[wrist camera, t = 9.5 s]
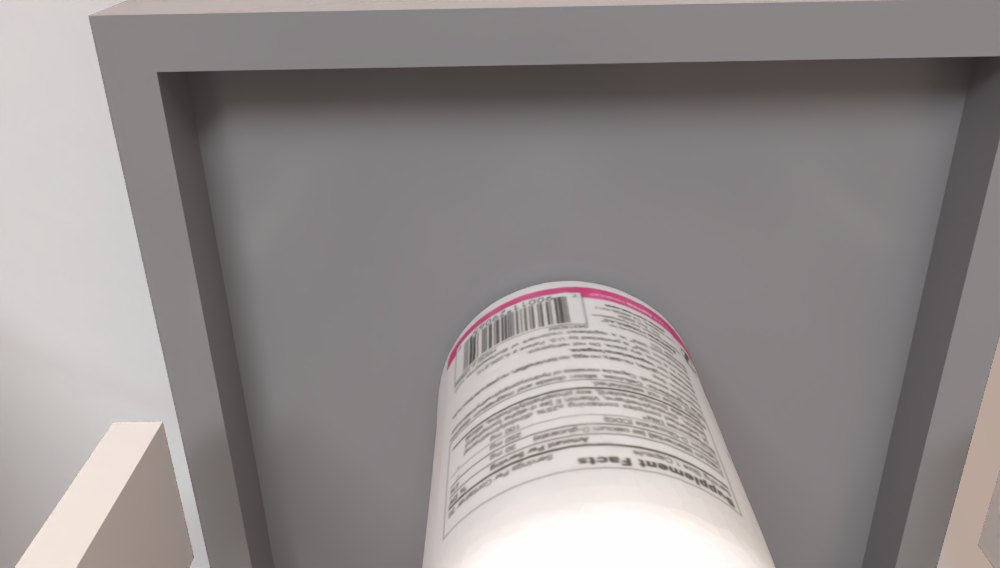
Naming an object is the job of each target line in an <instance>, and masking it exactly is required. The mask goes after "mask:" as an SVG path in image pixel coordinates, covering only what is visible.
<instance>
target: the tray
mask: <svg viewBox="0 0 1000 568" xmlns="http://www.w3.org/2000/svg"><path fill="white" fill-rule="evenodd" d="M89 20H90V25H91V29H92V34H93V38H94V43H95V47H96V52H97V56H98V61H99V65H100V70H101V74H102V79H103V84H104V88H105V93H106V97H107V102H108V106H109V111H110V115H111V120H112V124H113V129H114V133H115V138H116V142H117V147H118V151H119V156H120V161H121V165H122V170H123V174H124V179H125V183H126V188H127V192H128V197H129V201H130V206H131V210H132V215H133V219H134V224H135V229H136V233H137V238H138V242H139V247H140V251H141V256H142V260H143V265H144V269H145V274H146V278H147V283H148V287H149V292H150V296H151V301H152V306H153V310H154V315H155V319H156V324H157V328H158V333H159V337H160V342H161V346H162V351H163V355H164V360H165V364H166V369H167V374H168V378H169V383H170V387H171V392H172V396H173V401H174V405H175V410H176V414H177V419H178V423H179V428H180V432H181V437H182V441H183V446H184V451H185V455H186V460H187V464H188V469H189V473H190V478H191V482H192V487H193V491H194V496H195V500H196V505H197V509H198V514H199V519H200V523H201V528H202V532H203V537H204V541H205V546H206V550H207V555H208V559H209V564H210V568H422V565H423V556H424V547H425V538H426V529H427V519H428V510H429V500H430V490H431V481H432V470H433V459H434V448H435V438H436V428H437V403H438V393H439V386H440V381H441V376H442V372H443V369H444V365H445V363H446V360H447V357H448V355H449V353H450V351H451V349H452V347H453V345H454V344H455V342H456V340H457V339H458V337H459V336H460V334H461V333H462V332H463V330H464V329H465V328H466V327H467V326H468V325H469V323H470V322H471V321H472V320H473V319H474V318H475V317H476V316H477V315H478V314H480V313H481V312H482V311H483V310H485V309H486V308H487V307H489V306H490V305H491V304H493V303H494V302H496V301H498V300H499V299H501V298H503V297H505V296H507V295H510V294H512V293H514V292H516V291H519V290H521V289H524V288H527V287H531V286H534V285H539V284H543V283H549V282H557V281H581V282H590V283H595V284H600V285H604V286H608V287H612V288H615V289H618V290H620V291H623V292H625V293H627V294H629V295H631V296H633V297H635V298H637V299H639V300H641V301H643V302H645V303H646V304H648V305H649V306H651V307H652V308H653V309H655V310H656V311H657V312H659V313H660V314H661V315H662V316H663V317H664V318H665V319H666V320H667V321H668V322H669V323H670V324H671V325H672V326H673V328H674V329H675V330H676V332H677V333H678V334H679V336H680V337H681V339H682V341H683V342H684V344H685V346H686V348H687V350H688V353H689V355H690V357H691V359H692V362H693V364H694V367H695V369H696V372H697V374H698V377H699V379H700V382H701V384H702V387H703V389H704V391H705V394H706V396H707V399H708V401H709V404H710V407H711V409H712V412H713V414H714V416H715V419H716V422H717V424H718V427H719V429H720V432H721V434H722V437H723V439H724V442H725V444H726V447H727V449H728V452H729V454H730V456H731V459H732V461H733V464H734V467H735V469H736V471H737V474H738V476H739V479H740V481H741V483H742V486H743V488H744V490H745V493H746V496H747V498H748V501H749V503H750V505H751V508H752V510H753V512H754V515H755V517H756V520H757V522H758V525H759V527H760V530H761V532H762V534H763V537H764V540H765V542H766V545H767V547H768V550H769V552H770V555H771V557H772V560H773V562H774V565H775V568H937V564H938V560H939V557H940V553H941V549H942V546H943V542H944V538H945V535H946V531H947V527H948V524H949V520H950V516H951V513H952V509H953V505H954V501H955V498H956V494H957V491H958V487H959V483H960V479H961V476H962V472H963V468H964V465H965V461H966V457H967V454H968V450H969V446H970V443H971V439H972V435H973V431H974V428H975V424H976V421H977V417H978V413H979V409H980V406H981V402H982V399H983V395H984V391H985V387H986V384H987V380H988V377H989V373H990V369H991V365H992V362H993V358H994V354H995V351H996V347H997V343H998V340H999V336H1000V0H127V1H125V2H122V3H120V4H117V5H115V6H112V7H110V8H107V9H104V10H102V11H99V12H97V13H94V14H92V15H89Z"/></svg>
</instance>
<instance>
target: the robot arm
mask: <svg viewBox="0 0 1000 568" xmlns="http://www.w3.org/2000/svg"><path fill="white" fill-rule="evenodd" d="M978 546H979V547H980V549H981V550H982V552H983V553H984V555H985V556H986V558H987V559H988V560H989V562H990V563H991V565H992V566H993V568H1000V472H999V475H998V479H997V482H996V485H995V489H994V492H993V495H992V499H991V502H990V505H989V509H988V512H987V516H986V519H985V522H984V526H983V529H982V532H981V536H980V539H979V543H978ZM193 558H194V555H193V551H192V547H191V542H190V538H189V534H188V529H187V525H186V521H185V516H184V512H183V508H182V503H181V499H180V495H179V490H178V486H177V482H176V477H175V473H174V468H173V464H172V460H171V455H170V451H169V447H168V442H167V438H166V434H165V429H164V425H163V422H113V423H112V425H111V426H110V428H109V429H108V431H107V432H106V434H105V435H104V437H103V438H102V439H101V441H100V442H99V444H98V445H97V447H96V448H95V450H94V451H93V453H92V454H91V456H90V457H89V459H88V460H87V462H86V463H85V464H84V466H83V467H82V469H81V470H80V472H79V473H78V475H77V476H76V478H75V479H74V481H73V482H72V484H71V485H70V487H69V488H68V489H67V491H66V492H65V494H64V495H63V497H62V498H61V500H60V501H59V503H58V504H57V506H56V507H55V509H54V510H53V512H52V513H51V515H50V516H49V517H48V519H47V520H46V522H45V523H44V525H43V526H42V528H41V529H40V531H39V532H38V534H37V535H36V537H35V538H34V540H33V541H32V542H31V544H30V545H29V547H28V548H27V550H26V551H25V553H24V554H23V556H22V557H21V559H20V560H19V562H18V563H17V565H16V566H15V568H189V567H190V565H191V563H192V561H193Z"/></svg>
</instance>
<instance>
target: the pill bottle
mask: <svg viewBox="0 0 1000 568" xmlns="http://www.w3.org/2000/svg"><path fill="white" fill-rule="evenodd" d="M422 568H775V565H774V562H773V560H772V557H771V555H770V552H769V550H768V547H767V545H766V542H765V540H764V537H763V534H762V532H761V530H760V527H759V525H758V522H757V520H756V517H755V515H754V512H753V510H752V508H751V505H750V503H749V501H748V498H747V496H746V493H745V490H744V488H743V486H742V483H741V481H740V479H739V476H738V474H737V471H736V469H735V467H734V464H733V461H732V459H731V456H730V454H729V452H728V449H727V447H726V444H725V442H724V439H723V437H722V434H721V432H720V429H719V427H718V424H717V422H716V419H715V416H714V414H713V412H712V409H711V407H710V404H709V401H708V399H707V396H706V394H705V391H704V389H703V387H702V384H701V382H700V379H699V377H698V374H697V372H696V369H695V367H694V364H693V362H692V359H691V357H690V355H689V353H688V350H687V348H686V346H685V344H684V342H683V341H682V339H681V337H680V336H679V334H678V333H677V332H676V330H675V329H674V328H673V326H672V325H671V324H670V323H669V322H668V321H667V320H666V319H665V318H664V317H663V316H662V315H661V314H660V313H659V312H657V311H656V310H655V309H653V308H652V307H651V306H649V305H648V304H646V303H645V302H643V301H641V300H639V299H637V298H635V297H633V296H631V295H629V294H627V293H625V292H623V291H620V290H618V289H615V288H612V287H608V286H604V285H600V284H595V283H590V282H581V281H557V282H549V283H543V284H539V285H534V286H531V287H527V288H524V289H521V290H519V291H516V292H514V293H512V294H510V295H507V296H505V297H503V298H501V299H499V300H498V301H496V302H494V303H493V304H491V305H490V306H489V307H487V308H486V309H485V310H483V311H482V312H481V313H480V314H478V315H477V316H476V317H475V318H474V319H473V320H472V321H471V322H470V323H469V325H468V326H467V327H466V328H465V329H464V330H463V332H462V333H461V334H460V336H459V337H458V339H457V340H456V342H455V344H454V345H453V347H452V349H451V351H450V353H449V355H448V357H447V360H446V363H445V365H444V369H443V372H442V376H441V381H440V386H439V393H438V403H437V428H436V438H435V448H434V459H433V470H432V481H431V490H430V500H429V510H428V519H427V529H426V538H425V547H424V556H423V565H422Z"/></svg>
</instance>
